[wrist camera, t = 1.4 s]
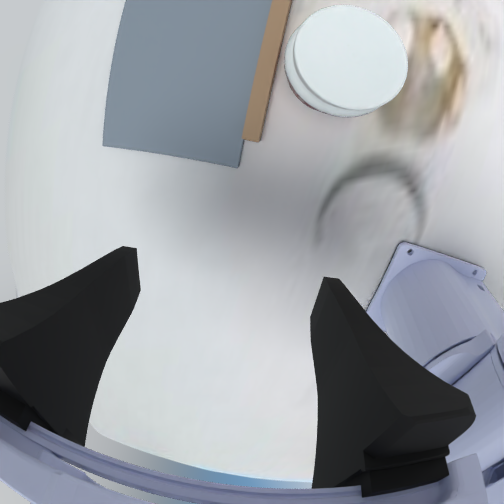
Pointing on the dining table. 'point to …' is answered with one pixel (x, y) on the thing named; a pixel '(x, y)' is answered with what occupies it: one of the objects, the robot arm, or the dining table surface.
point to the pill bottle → (345, 61)
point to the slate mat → (193, 76)
